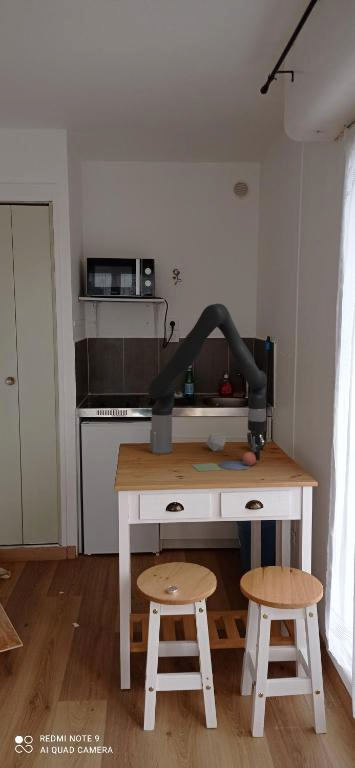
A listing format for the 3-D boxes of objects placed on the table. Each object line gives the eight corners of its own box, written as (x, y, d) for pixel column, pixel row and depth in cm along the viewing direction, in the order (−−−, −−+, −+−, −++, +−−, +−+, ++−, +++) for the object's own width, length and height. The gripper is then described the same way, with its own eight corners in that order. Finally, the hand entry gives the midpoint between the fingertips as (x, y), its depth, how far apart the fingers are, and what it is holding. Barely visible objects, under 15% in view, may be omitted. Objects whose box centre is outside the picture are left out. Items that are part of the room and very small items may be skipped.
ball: (258, 466, 239) (246, 469, 237) (251, 459, 244) (240, 463, 242) (258, 454, 237) (246, 458, 235) (251, 448, 242) (239, 451, 240)
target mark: (225, 470, 231) (225, 470, 231) (213, 462, 243) (213, 462, 243) (255, 468, 235) (255, 468, 235) (242, 460, 247) (242, 460, 247)
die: (218, 448, 271) (206, 432, 270) (232, 441, 267) (220, 425, 265) (212, 458, 265) (199, 441, 263) (226, 451, 260) (214, 435, 258)
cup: (262, 452, 261) (262, 435, 260) (245, 451, 263) (246, 434, 262) (263, 449, 268) (263, 432, 267) (247, 448, 270) (247, 431, 269)
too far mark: (198, 471, 230) (198, 471, 230) (191, 465, 239) (191, 464, 239) (222, 469, 232) (222, 469, 232) (214, 463, 242) (214, 463, 242)
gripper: (242, 416, 245) (242, 456, 247) (255, 422, 232) (254, 464, 234) (258, 415, 247) (258, 455, 249) (272, 421, 234) (271, 463, 236)
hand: (256, 459), depth 242 cm, fingers closed
